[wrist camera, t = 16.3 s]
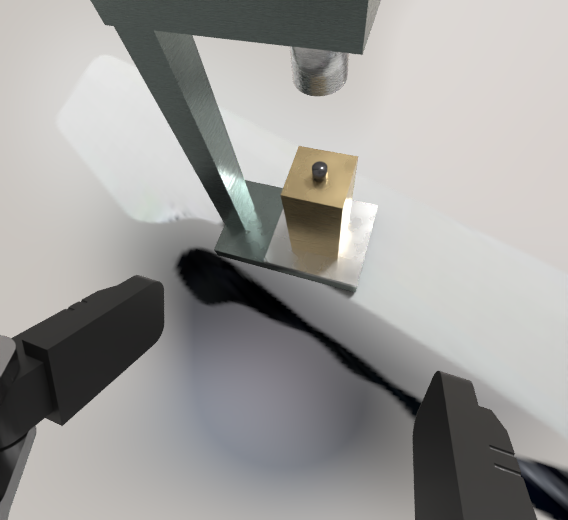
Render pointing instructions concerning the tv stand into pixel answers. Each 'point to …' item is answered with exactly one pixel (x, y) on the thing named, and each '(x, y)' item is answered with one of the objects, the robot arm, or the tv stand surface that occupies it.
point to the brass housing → (319, 200)
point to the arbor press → (209, 124)
